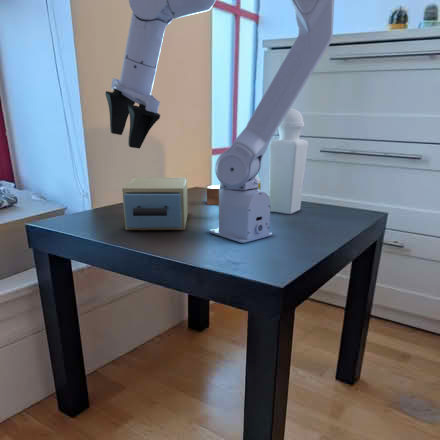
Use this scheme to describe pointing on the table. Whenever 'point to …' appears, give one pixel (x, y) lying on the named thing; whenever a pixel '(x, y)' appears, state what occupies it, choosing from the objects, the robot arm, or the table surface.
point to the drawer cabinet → (159, 187)
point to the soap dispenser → (287, 165)
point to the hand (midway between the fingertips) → (124, 140)
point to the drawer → (153, 210)
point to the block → (212, 195)
